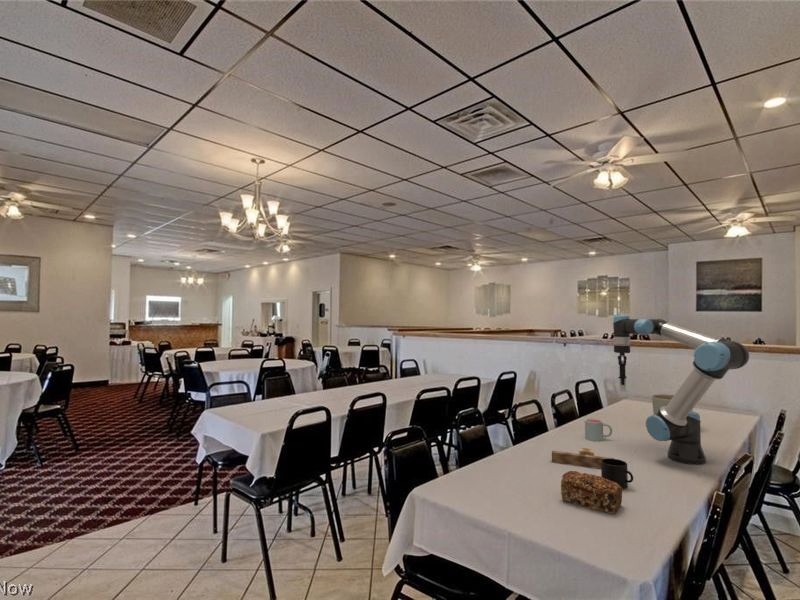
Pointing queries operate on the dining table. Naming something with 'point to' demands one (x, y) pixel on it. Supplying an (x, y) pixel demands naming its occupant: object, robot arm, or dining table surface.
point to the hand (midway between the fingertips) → (622, 391)
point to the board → (577, 459)
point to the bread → (591, 491)
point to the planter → (660, 401)
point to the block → (586, 451)
